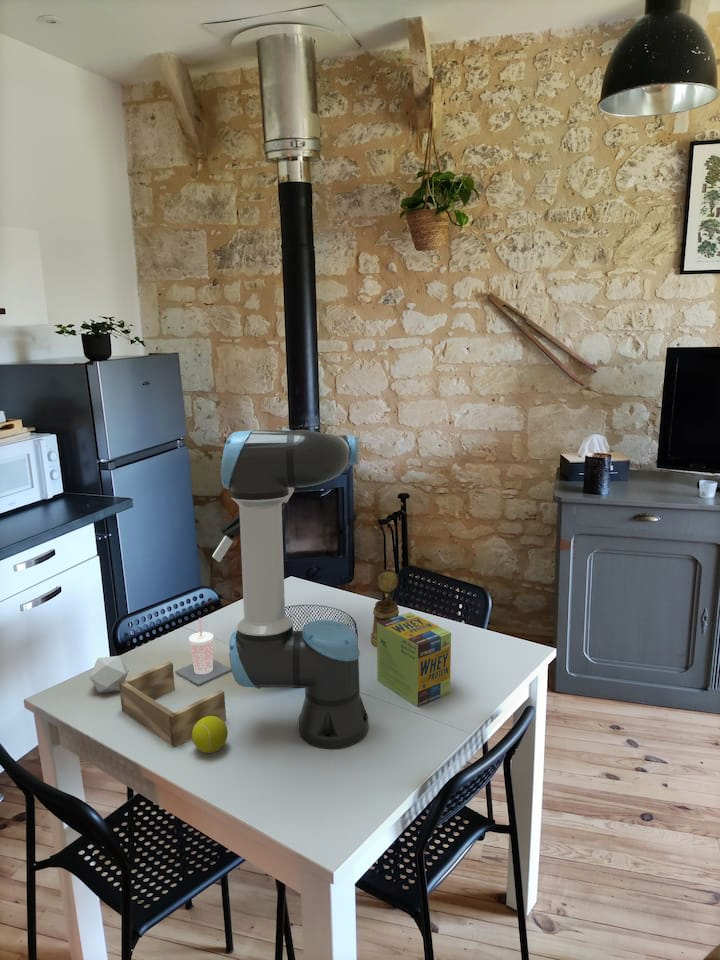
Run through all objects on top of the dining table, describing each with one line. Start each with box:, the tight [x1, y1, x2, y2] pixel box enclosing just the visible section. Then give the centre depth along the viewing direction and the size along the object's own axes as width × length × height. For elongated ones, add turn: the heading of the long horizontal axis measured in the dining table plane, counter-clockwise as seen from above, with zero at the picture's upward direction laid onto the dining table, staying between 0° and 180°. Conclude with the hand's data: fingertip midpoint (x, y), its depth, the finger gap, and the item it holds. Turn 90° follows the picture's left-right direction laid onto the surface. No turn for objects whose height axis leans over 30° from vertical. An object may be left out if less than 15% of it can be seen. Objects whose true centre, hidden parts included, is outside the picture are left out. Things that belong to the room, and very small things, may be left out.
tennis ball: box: [192, 716, 229, 754], centre depth 142 cm, size 7×7×7 cm
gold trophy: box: [370, 568, 400, 648], centre depth 190 cm, size 9×14×18 cm, turn 173°
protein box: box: [376, 612, 452, 708], centre depth 164 cm, size 10×15×16 cm
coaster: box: [174, 658, 232, 687], centre depth 175 cm, size 10×10×1 cm
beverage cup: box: [188, 617, 215, 674], centre depth 173 cm, size 6×6×14 cm
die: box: [89, 655, 129, 694], centre depth 167 cm, size 8×9×10 cm
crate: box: [119, 661, 227, 748], centre depth 155 cm, size 13×21×7 cm, turn 48°
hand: (231, 564), depth 177 cm, fingers open, 13 cm apart
